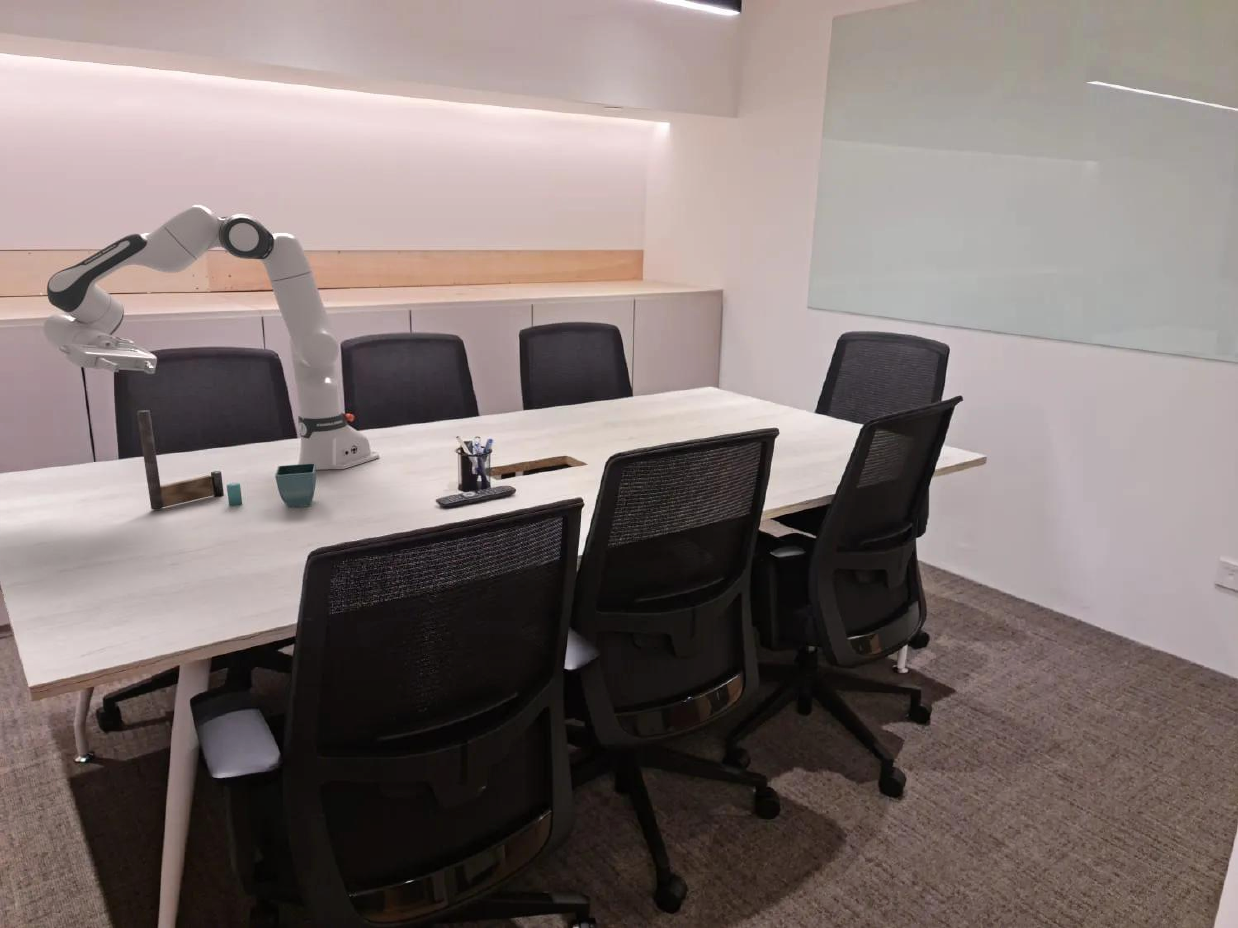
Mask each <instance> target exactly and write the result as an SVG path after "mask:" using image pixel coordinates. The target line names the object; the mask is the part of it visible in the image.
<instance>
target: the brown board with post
mask: <svg viewBox="0 0 1238 928" xmlns="http://www.w3.org/2000/svg"><path fill="white" fill-rule="evenodd" d="M136 414H137V415H136V416H137V421H138V422H137V423H138V428H139V433H140V439H141V440H140V441H141V447H142V448H141V449H142V455H143V461H144V468H145V475H146V483H147V489H148V496H149V503H150V509H151V510H152V511H153V510H154V511H155V510H156V511H157V510H161V509H163V508H166V507H167V508H168V507H171V506H176V505H179V504H184V503H187V502H192V501H197V500H201V499H205V498H209V497H214V493H213V485H212V477H211V475H208V474H207V475H204V476H199V477H195V478H189V479H184V480H180V481H176V482H170V483H166V484H162V485H161V481H160V475H159V467H158V460H157V453H156V451H157V450H156V446H155V438H154V432H153V424H152V418H151V412H150V410H148V409H146V410H143V409H142V410H138V411H137V412H136Z"/></svg>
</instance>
